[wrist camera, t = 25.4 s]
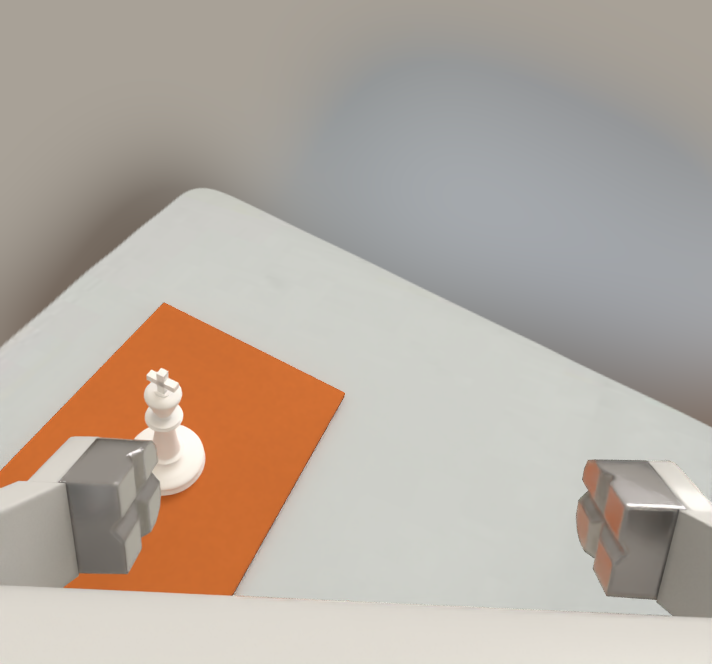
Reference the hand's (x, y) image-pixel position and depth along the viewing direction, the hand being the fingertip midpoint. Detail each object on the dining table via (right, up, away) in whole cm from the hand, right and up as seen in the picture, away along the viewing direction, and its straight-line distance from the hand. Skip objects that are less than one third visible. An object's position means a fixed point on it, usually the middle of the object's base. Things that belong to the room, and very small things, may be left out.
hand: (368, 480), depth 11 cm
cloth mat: (-13, -6, +28) cm, 31 cm away
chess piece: (-13, -6, +28) cm, 31 cm away
